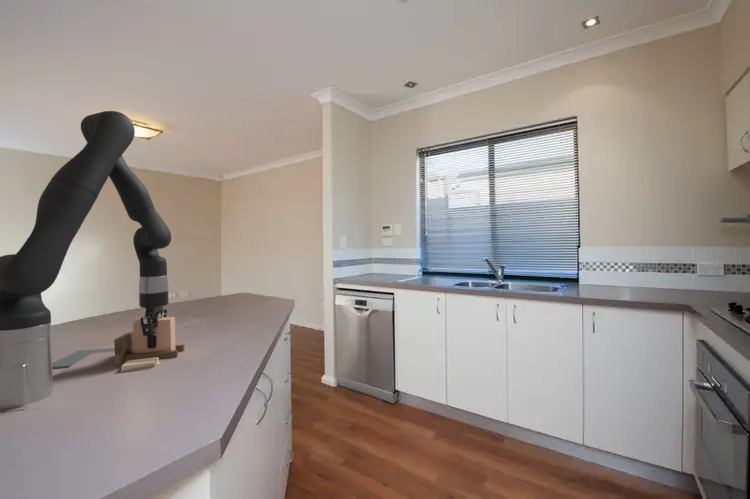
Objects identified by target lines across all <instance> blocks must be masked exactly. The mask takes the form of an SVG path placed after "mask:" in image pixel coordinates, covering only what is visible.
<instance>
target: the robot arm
mask: <svg viewBox="0 0 750 499" xmlns="http://www.w3.org/2000/svg"><path fill="white" fill-rule="evenodd" d="M135 131H136V130H135V126H134V124H133V121H132V120H131V118H130V117H128V116H127V115H126V114H125V113H122V112H121V111H116V110H104V111H100V112H97V113H91V114H89V115H87V116H85V117H84V118H83V119H82V120H81V122H80V132H81V133H82V136H83V138H84V139H85V141H86V144H85V146H84V147H83V148H82V149H81V150H80V151H79V152H78V153H76V155H74V156H73V157H71V159H70V160H68V161H67V162H66V163H65V164H64V165H62V167H60V168H59V169H58V170H57V172H55V173H54V175H53V176H52V177H51V178H50V180H49V182H48V184H47V185H46V186H45V188H44V189H43V191H42V193H41V195H40V197H39V199H38V204H37V208H36V209H37V210H36V217H35V223H34V226H33V229H32V231H31V233H30V234H29V236H28V237H27V238H26V239H25V241H24V243H23V245H22V246H21V247H20V249H18V250H17V252H16V253H12V254H5V255H1V256H0V410H3V409H12V408H13V409H14V408H15V409H14V410H11V412H12V411H16V408H19V411H23V410H25V408H22V407H26V406H29V405H30V404H33V403H36V402H40V401H42V400H44V399H46V398H48V397H50V396H51V395H52V394H53V393H54V378H53V376H54V375H53V369H52V363H53V347H52V346H53V345H52V344H53V343H52V315H51V314H52V313H51V310H50V309H48V307H47V306H46V305H45V303H44V302H43V300H42V293H43V292H45V291H46V290H48V289H50V287H52V285H53V284H54V283H55V281H56V280H57V278H58V276H59V273H60V271H61V269H62V266H63V263H64V260H65V258H66V256H67V253H68V250H69V248H70V246H71V244H72V242H73V240H74V239H75V237H76V235H77V234H78V232H79V230H80V228H81V227H82V225H83V223H84V221H85V220H86V218H87V216H88V214H89V213H90V211H91V210H92V208H93V206H94V204H95V203H96V201H97V199H98V197H99V195H100V193H101V191H102V189H103V188H104V187H103V186H105V184H106V181H108V178H110V181H111V182H112V184H113V185H114V188H115V190H116V191H117V194H118V196H119V198H120V200H121V202H122V205H123V206H124V209H125V211H126V213H127V216H128V217H129V219H130V220H131V221H134V222H137V223H139V225H140V226H141V227H139V228H137V229H136V231H135V232H134V234H133V246H134V251H135V253H136V257H137V260H138V262H139V281H138V300H139V304H138V305H139V307H140V308H144V309H145V313H144V316H143V317H140V318H139V319H140V322H141V327H142V332H143V336H147V347H148V349H151V348H156V346H157V343H156V334H157V328H158V320H159V319H160V318H165V317H168V315H167V314H168V310H167V309H164V307H165V306H168V304H169V280H168V268H167V260H166V258H165V257H163V256H161V255H160V254H159V250H161V249H165V248H167V247H168V246H169V245H170V244H171V241H172V235H171V231H170V228H169V226H168V225H167V224H166V222H165V221H164V219H163V218H162V217H161V215H160V214H159V213H158V212H157V210H156V209H155V208H156V207H155V205H154V202H153V201H152V198H151V195H150V193H149V191H148V189H147V188H146V186H145V184H144V183H143V182H142V180H141V179H139V178H138V176H137V175H136V174H135V173H134V171H132V169H131V168H130V167H129V165H128V164H127V163H126V161H125V159H124V157H123V154H124V153H125V152H126V150H128V148H129V146H130V145H131V144H132V142H133V141H134V138H135V135H136V134H135V133H136V132H135ZM155 323H156V324H155ZM153 324H155V325H153ZM153 328H154V330H153ZM149 329H150V331H149ZM20 408H21V409H20ZM3 412H7V410H6V411H3Z"/></svg>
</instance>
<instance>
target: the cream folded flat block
mask: <svg viewBox="0 0 750 499" xmlns="http://www.w3.org/2000/svg"><path fill="white" fill-rule="evenodd" d="M159 364H161V362H160V361H159V363H158V364H157V365H156V366H155V368H156V367H157V366H159ZM155 368H147V369H139V370H138V371H143V370H146V371H147V370H154V369H155ZM134 371H136V370H130V371H129V372H134ZM119 372H120V373H121V370H120V371H119ZM123 372H126V371H122V373H123Z"/></svg>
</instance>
